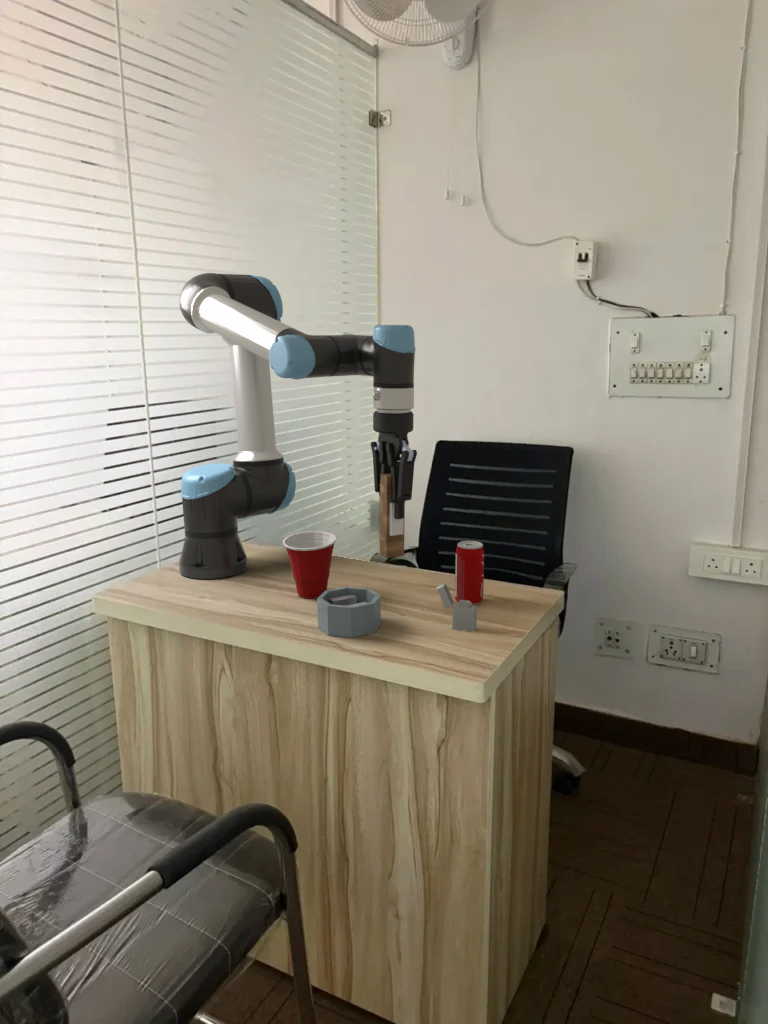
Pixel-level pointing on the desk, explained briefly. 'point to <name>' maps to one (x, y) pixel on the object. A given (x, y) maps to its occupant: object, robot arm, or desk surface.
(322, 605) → the grey faceted bowl
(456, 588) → the soda can
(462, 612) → the lighter
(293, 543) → the plastic cup
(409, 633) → the desk surface
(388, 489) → the brown wooden block
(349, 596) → the clip
